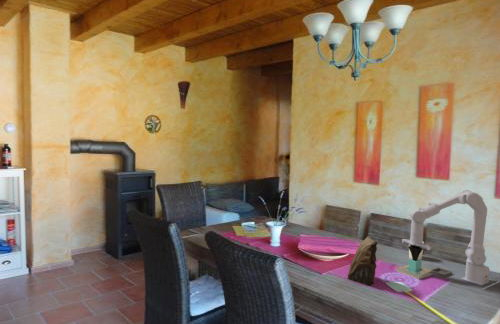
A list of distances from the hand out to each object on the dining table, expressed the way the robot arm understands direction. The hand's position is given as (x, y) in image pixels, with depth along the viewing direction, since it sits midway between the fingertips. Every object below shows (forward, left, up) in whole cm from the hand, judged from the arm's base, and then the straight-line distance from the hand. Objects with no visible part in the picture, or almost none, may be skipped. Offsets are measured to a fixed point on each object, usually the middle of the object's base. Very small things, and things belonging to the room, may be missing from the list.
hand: (414, 260), depth 183 cm
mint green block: (0, 0, -7) cm, 7 cm away
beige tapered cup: (+14, -24, -7) cm, 29 cm away
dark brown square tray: (-7, -12, -7) cm, 16 cm away
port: (0, 0, -7) cm, 7 cm away
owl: (+9, +30, -7) cm, 32 cm away
